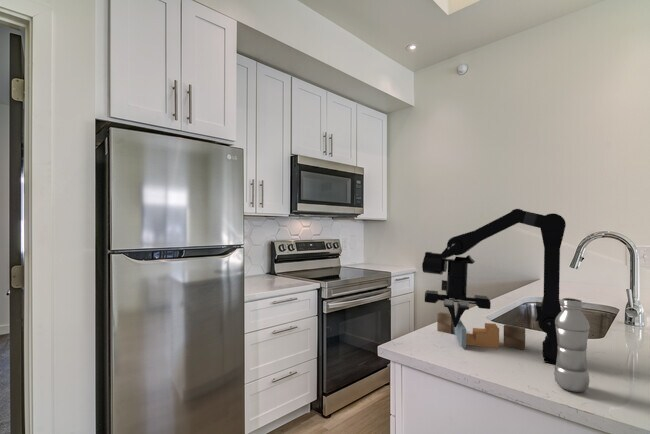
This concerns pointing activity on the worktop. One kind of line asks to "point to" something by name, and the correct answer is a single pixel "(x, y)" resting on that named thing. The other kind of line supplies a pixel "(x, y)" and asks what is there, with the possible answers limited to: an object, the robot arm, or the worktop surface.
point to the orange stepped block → (484, 336)
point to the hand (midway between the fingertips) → (455, 326)
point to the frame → (512, 334)
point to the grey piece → (460, 333)
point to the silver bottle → (572, 347)
